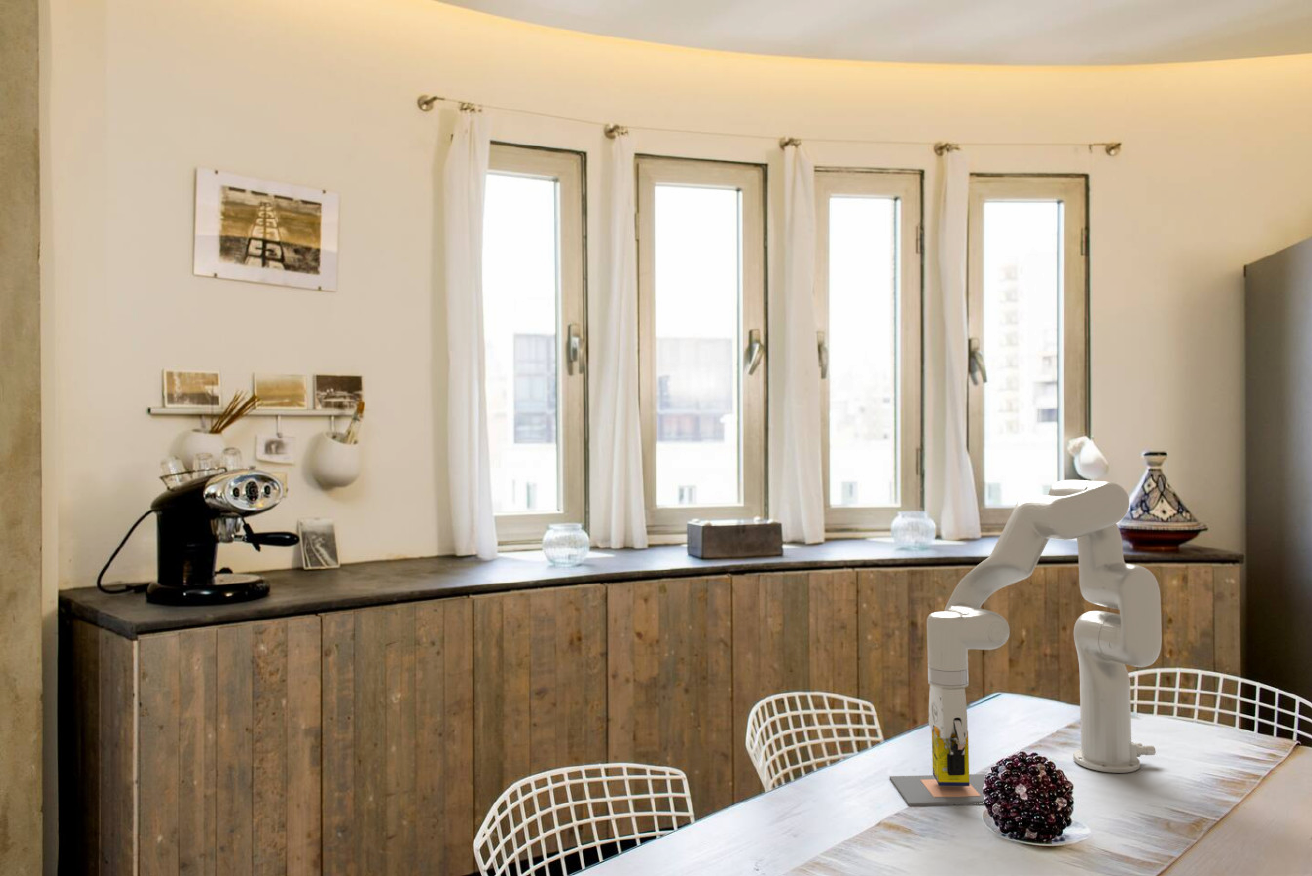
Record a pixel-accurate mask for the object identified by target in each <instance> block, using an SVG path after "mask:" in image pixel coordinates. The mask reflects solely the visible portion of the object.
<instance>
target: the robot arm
mask: <svg viewBox="0 0 1312 876" xmlns="http://www.w3.org/2000/svg"><path fill="white" fill-rule="evenodd" d="M1129 508H1130V497H1129V495H1128V493H1127V490H1125V489H1124V487H1122V486H1121V485H1119V484H1117V483H1116V482H1112V481H1106V480H1105V481H1103V480H1102V481H1101V480H1087V479H1085V480H1084V479H1064V480H1060V481H1059V480H1058V481H1057V482H1055V483H1053V484H1052V485H1051V486H1050V488H1049V490H1048V494H1047V495H1045V494H1030V495H1026V496H1024V497H1022V498H1021V499H1020V500H1018V502H1017V503H1016V504H1015V506H1014V508H1013V510H1012V512H1011V514H1010V516H1009V517H1008V520H1007V522H1006V523H1005V526H1004V528H1003V530H1002V532H1001V534H1000V535H999V538H998V540H997V542H996V544H995V545H994V547H993V549H992V552H991V553H990V554H989V556H988V557H987V558H986V559H984V560H983V561H982V562H980V563H979V564H977V565H976V566H975V567H974V568H972V570H970V571H969V572H968V573H966V575H965V576H964V577H963V578H961V580H960V581H959V582H958V584H956V585H955V587H954V590H953V591H952V593H951V595H950V597H949V598H948V601H947V603H946V606H945V608H944V611H941V610H940V611H935V612H931V613H930V614H929V615H928V616H927V618H926V639H927V640H926V641H927V642H926V643H927V644H926V645H927V648H926V649H927V681H928V685H929V693H928V695H929V696H928V697H929V698H928V725H929V728H930V729H931V731H932V730H933V725H934V726H935V727H936V728H937V729H938V730H939V737H940V738H941V739H943V740H946V738H947V743H948V750H949V754H947V773H948V774H949V775H964V774H965V750H964V748H965V747H964V746H965V744H966V740H965V738H966V737H967V731H968V732H969V730H968V709H967V708H968V707H967V706H968V705H967V698H966V697H967V696H966V689H965V688H967V687H969V656H968V655H969V653H968V652H969V650H981V651H983V650H984V651H985V650H987V651H992V650H996V649H999V648H1001V647H1002V646H1004V645H1005V644H1006V643H1007V642H1008V640H1009V638H1010V633H1011V632H1010V631H1011V629H1010V626H1009V625H1010V624H1009V623H1008V621H1007V620H1006V618H1004V616H1002V615H1001V614H999V613H997V612H996V611H991V610H987V609H983V608H981V607H982V606H983V605H984V603H985V601H987V599H988V598H989V597H990V596H991V595H993V594H994V593H995V592H997V591H998V590H1001V589H1002V588H1005V587H1007V586H1010V585H1014V584H1016V583H1018V582H1021V581H1024V580H1025V579H1028V578H1029V577H1031V575H1032V574H1033V573H1034V570H1035V568H1036V566H1037V565H1038V563H1039V560H1040V559H1041V555H1042V554H1043V552H1044V550H1045V548H1046V545H1047V544H1048V542H1049V540H1050V539H1055V540H1062V541H1063V540H1064V541H1065V540H1067V541H1068V540H1075V539H1076V541H1077V552H1078V557H1077V558H1078V580H1079V590H1080V594H1081V596H1082V598H1083V599H1084V600H1085V601H1087V602H1088V603H1091V604H1094V605H1098V606H1101V607H1105V608H1108V609H1109V608H1110V609H1115V610H1118V611H1119V613H1114V612H1110V611H1109V612H1108V611H1104V610H1090V611H1086V612H1085V613H1082V614H1081V615H1079V616H1078V618H1077V619H1076V621H1075V623H1074V626H1073V641H1074V645H1075V649H1076V653H1077V654H1076V655H1077V659H1078V667H1079V669H1078V670H1079V700H1080V701H1079V703H1080V705H1079V707H1080V709H1079V711H1080V717H1079V718H1080V749H1077V750H1075V751H1074V752H1073V754H1072V755H1073V756H1072V757H1073V761H1074V762H1075V763H1076V764H1078V765H1080V766H1082V767H1084V768H1087V769H1090V770H1093V771H1098V772H1104V773H1111V774H1113V773H1114V774H1123V773H1126V774H1127V773H1132V772H1135V771H1138V770H1139V769H1140V767H1141V761H1140V759H1139V758H1140V757H1141V756H1155V755H1156V754H1157V753H1156V748H1155V746H1154V745H1143V744H1142V743H1141V742H1139V743H1137V742H1136V743H1135V742H1133V741H1132V722H1131V721H1132V720H1131V719H1132V714H1131V681H1130V676H1129V671H1128V669H1127V666H1131V667H1136V668H1146V667H1149V666H1152V665H1153V664H1154V663H1156V661H1157V659H1158V658H1159V656H1160V653H1161V650H1162V644H1163V643H1162V642H1163V633H1162V632H1163V631H1162V630H1163V629H1162V624H1163V623H1162V602H1161V590H1160V585H1159V583H1158V582H1159V581H1158V580H1157V578H1156V576H1155V575H1154V574H1153V573H1152V571H1151V570H1149V569H1148V568H1146V567H1144V566H1141V565H1137V564H1132V563H1126V561H1125V558H1124V549H1123V539H1122V533H1121V531H1120V528H1119V526H1118V523H1119V522H1120V521H1122V520H1123V519H1124V518H1125V516H1126V515H1127V513H1128V511H1129ZM1126 665H1127V666H1126ZM951 734H955V735H956V737H954V738H950V736H951ZM964 734H965V735H964ZM952 741H956V743H955V744H954V745H953V747H952Z"/></svg>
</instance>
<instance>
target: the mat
mask: <svg viewBox="0 0 1312 876" xmlns="http://www.w3.org/2000/svg"><path fill="white" fill-rule="evenodd" d="M985 774H986V773H983V774H982V773H981V774H980V773H979V774H978V773H976V774H975V773H974V774H970V773H969V783H970V786H939V785H938V783H937V780H936V779H935V777H934V775H933V774H932V775H893V776H892V775H891V776H890V775H889V780H890V781H891V783H892V784H893V786H894V787H895V788H896V790H897V791H898V793H899V794H900V796H901V797H902V798H903V800H904V801H905V803H906V805H908V807H910V806H912V807H917V806H920V807H921V806H922V807H923V806H948V805H949V806H951V805H952V806H954V805H953V804H966V805H980V804H979V803H983V802H984V795H983V787H984V776H985ZM972 803H973V804H972ZM974 803H976V804H974ZM977 803H978V804H977ZM947 804H948V805H947Z"/></svg>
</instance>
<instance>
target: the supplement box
mask: <svg viewBox="0 0 1312 876" xmlns="http://www.w3.org/2000/svg"><path fill="white" fill-rule="evenodd" d="M964 735H965V734H964ZM954 737H956V735H955V734H951V736H950V738H954ZM965 740H966V744H965V746H964V747H965V748H964V750H965V774H964V775H949V774H948V773H947V754H949V750H948V743H947V738H946V740H943V739H941V738H940V737H939V730H938V729H937V728H936V727H935V726H934V725H933V730H932V729H931V752H932V755H931V756H932V759H931V760H932V775H934V777H935V779H936V780H937V783H938V785H939V786H970V783H969V774H970V756H969V755H970V754H969V748H970V747H969V746H970V745H969V730H968V731H967V737H966V738H965ZM955 743H956V741H952V747H953V745H954V744H955Z"/></svg>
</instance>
